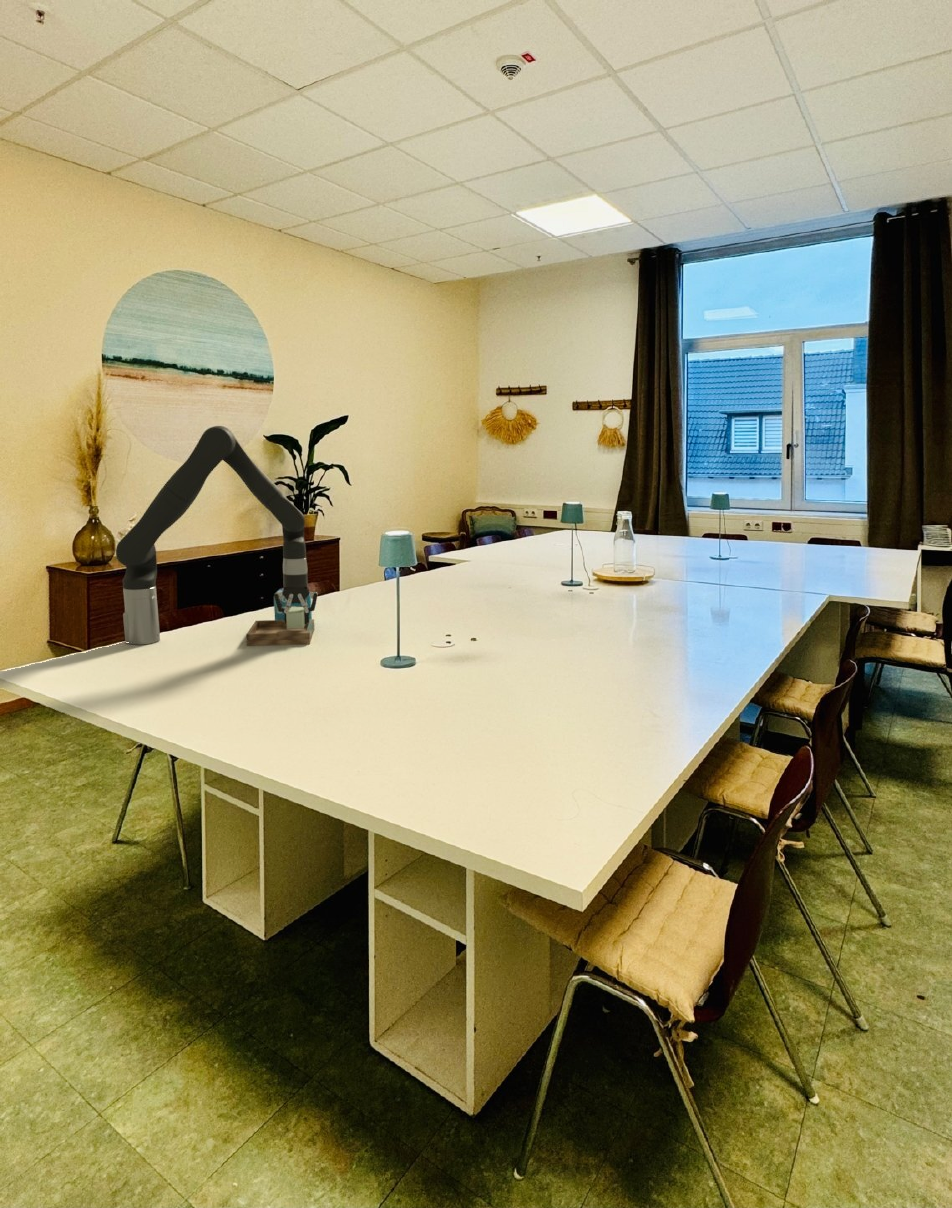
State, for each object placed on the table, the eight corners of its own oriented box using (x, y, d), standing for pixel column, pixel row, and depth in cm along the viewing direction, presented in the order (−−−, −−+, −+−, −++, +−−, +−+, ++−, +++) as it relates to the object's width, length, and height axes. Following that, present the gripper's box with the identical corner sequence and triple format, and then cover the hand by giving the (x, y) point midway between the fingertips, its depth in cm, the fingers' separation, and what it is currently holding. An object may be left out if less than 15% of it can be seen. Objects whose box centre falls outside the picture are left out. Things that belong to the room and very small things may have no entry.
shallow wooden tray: (246, 645, 223) (246, 634, 222) (256, 630, 242) (255, 620, 242) (309, 644, 226) (309, 633, 225) (314, 629, 245) (314, 619, 245)
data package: (275, 627, 248) (273, 592, 246) (276, 624, 252) (275, 590, 250) (310, 626, 250) (309, 592, 247) (312, 623, 254) (310, 589, 252)
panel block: (286, 629, 229) (286, 613, 228) (291, 622, 239) (291, 607, 238) (303, 628, 229) (302, 613, 228) (307, 621, 239) (306, 607, 238)
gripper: (270, 574, 226) (272, 627, 229) (317, 573, 228) (319, 626, 231) (273, 570, 233) (275, 622, 237) (319, 570, 235) (320, 621, 239)
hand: (297, 623), depth 234 cm, fingers closed on panel block, 5 cm apart
